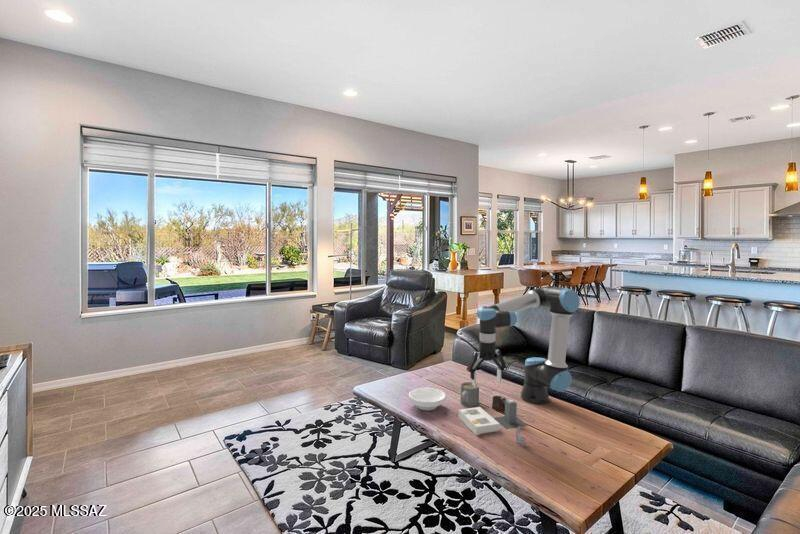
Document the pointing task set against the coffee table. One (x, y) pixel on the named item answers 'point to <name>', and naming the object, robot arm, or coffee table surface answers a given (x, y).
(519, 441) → the architectural model
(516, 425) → the mat
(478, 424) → the socket block
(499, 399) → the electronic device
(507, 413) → the plug
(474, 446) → the coffee table surface
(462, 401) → the coffee mug
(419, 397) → the bowl
